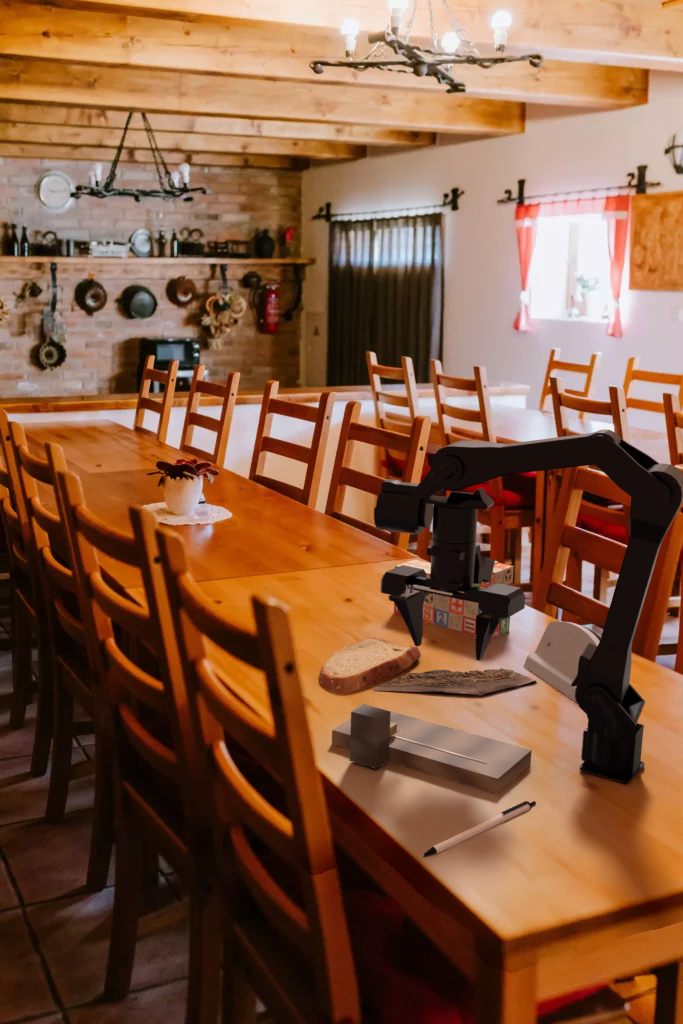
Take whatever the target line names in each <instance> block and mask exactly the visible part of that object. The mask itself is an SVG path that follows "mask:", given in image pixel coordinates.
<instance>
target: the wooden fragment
mask: <svg viewBox="0 0 683 1024" xmlns="http://www.w3.org/2000/svg"><path fill="white" fill-rule="evenodd" d="M532 682H533V683H536V684H538V682H537V680H536V679H534V678H531V677H529V676H527V675H525V674H521V673H518V672H517V671H515V670H512V669H507V668H506V669H505V668H503V667H501V668H500V669H499V668H498V669H492V668H491V669H490V668H489V669H484V670H482V671H480V670H477V669H475V670H469V671H465V672H463V671H459V670H457V671H455V670H454V671H452V670H450V669H434V670H429V671H423V672H408V673H407V674H404V675H400V676H398V677H397V678H394V679H392V680H390V681H389V682H386V683H382V684H379V685H377V686H375V687H373V689H371V690H372V691H382V692H413V693H414V692H415V693H417V692H419V693H423V692H424V693H425V692H426V693H427V692H436V693H451V694H463V695H464V694H465V695H466V694H468V695H476V696H478V697H479V696H484V695H486V694H488V693H493V692H496V691H501V690H505V689H510V688H513V687H518V686H522V685H526V684H529V683H532Z"/></svg>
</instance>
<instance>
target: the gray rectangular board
mask: <svg viewBox="0 0 683 1024" xmlns="http://www.w3.org/2000/svg"><path fill="white" fill-rule="evenodd" d="M375 707H376V706H375ZM376 708H378V707H376ZM379 708H380V707H379ZM380 709H382V708H380ZM386 710H387V711H389V710H388V709H386ZM390 722H394V723H397V732H396V733H395V734H393V735H392V736H390V741H389V761H388V762H391V763H393V764H397V765H400V766H404V767H407V768H411V769H414V770H416V771H420V772H422V773H427V774H428V775H429V774H430V775H433V776H437V777H439V778H440V777H441V778H443V779H446V780H449V781H453V782H456V783H458V784H463V785H466V786H469V787H472V788H475V789H479V790H482V791H486V792H489V793H493V794H495V795H498V794H499V793H500V792H501V791H502V790H503V789H504V788H506V787H507V786H508V785H509V784H510V783H511V782H512V781H513V780H515V779H516V778H517V777H518V776H519V775H520V774H522V773H523V772H524V771H525V770H526V769H528V767H530V765H531V763H532V749H529V748H526V747H522V746H518V745H515V744H511V743H507V742H504V741H500V740H497V739H494V738H489V737H486V736H482V735H479V734H475V733H471V732H467V731H464V730H461V729H458V728H457V729H456V728H452V727H450V726H449V727H448V726H445V725H442V724H439V723H434V722H431V721H427V720H424V719H420V718H416V717H414V716H409V715H406V714H401V713H399V712H398V713H397V712H396V711H395V712H394V711H391V714H390ZM350 734H351V718H349V719H348V720H345V722H342V723H341V724H339V725H338V726H336V727H335V728H333V729H332V730H331V745H334V746H338V747H341V748H345V749H347V750H350Z"/></svg>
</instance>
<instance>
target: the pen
mask: <svg viewBox="0 0 683 1024" xmlns="http://www.w3.org/2000/svg"><path fill="white" fill-rule="evenodd" d="M536 803H537V801H535V800H533V801H531V802H530V801H528V800H525V801H522V802H520V803H519V804H516V805H515V806H512V807H510V808H508V809H505V810H504V811H501V812H500V814H499V815H497V816H494V817H492V818H490V819H488V820H486V821H484V822H482V823H479V824H477V825H475V826H473V827H471V828H469V829H467V830H465V831H463V832H460V833H459V834H457V835H455V836H451V837H450V838H448V839H446V840H444V841H442V842H440V843H437V844H435V845H433V846H431V847H430V848H429V849H427V850H426V852H424V853H423V854H422V855H421V856H422V857H424V858H425V857H429V856H433V855H436V854H438V853H440V852H442V851H445V850H446V849H447V850H448V849H449V848H451V847H453V846H455V845H457V844H460V843H462V842H464V841H465V840H468V839H470V838H472V837H475V836H476V835H477V834H480V833H482V832H484V831H486V830H488V829H491V828H492V827H495V826H496V825H499V824H501V823H503V822H506V821H507V820H509V819H512V818H514V817H515V816H518V815H520V814H522V813H524V812H525V811H528V810H531V808H532V806H534V805H536Z"/></svg>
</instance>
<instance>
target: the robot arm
mask: <svg viewBox="0 0 683 1024" xmlns="http://www.w3.org/2000/svg"><path fill="white" fill-rule="evenodd" d="M586 466H595V467H596V468H598V469H599V470H601V472H603V474H604V475H606V476H607V477H608V478H609V479H610V480H611V481H612V482H613V483H614V484H615V485H616V486H617V487H618V488H619V489H620V490H622V492H624V493H626V494H627V495H628V496H629V497H631V499H630V506H629V508H630V509H629V525H628V526H629V532H628V533H629V535H628V542H627V546H626V549H625V553H624V556H623V559H622V562H621V566H620V570H619V572H618V573H619V574H618V578H617V581H616V584H615V587H614V592H613V595H612V597H611V602H610V603H609V604H610V606H609V608H608V611H607V616H606V619H605V622H604V626H603V630H602V633H601V639H600V642H599V644H598V646H595V645H593V644H591V643H588V644H587V646H586V647H585V649H584V651H583V652H582V654H581V655H580V657H579V664H578V673H577V675H576V677H575V679H574V680H573V682H572V684H571V686H572V687H573V686H577V687H576V690H575V700H576V702H575V703H577V705H578V707H579V708H580V710H581V711H583V713H584V714H586V717H587V727H586V728H585V729H584V730H583V732H582V743H581V761H582V763H581V764H580V765H579V771H581V772H585V773H587V774H593V775H595V776H598V777H602V778H607V779H610V780H613V781H616V782H621V783H624V784H630V783H631V782H632V781H633V780H634V778H636V776H637V775H638V774H639V773H640V772H641V770H643V768H644V767H645V764H646V763H645V762H644V761H643V760H642V749H643V748H642V747H643V739H644V728H645V725H644V724H641V723H638V722H639V719H640V717H641V715H642V712H643V710H644V707H645V704H646V701H645V699H644V698H643V697H642V695H640V694H639V693H638V691H637V690H636V688H634V687H633V685H632V684H631V683H630V681H631V671H632V670H631V669H632V652H633V651H632V649H633V648H632V645H633V641H634V637H635V633H636V630H637V627H638V624H639V620H640V616H641V614H642V610H643V606H644V603H645V600H646V596H647V593H648V589H649V586H650V583H651V579H652V576H653V572H654V569H655V566H656V563H657V559H658V555H659V553H660V549H661V546H662V543H663V540H664V539H665V537H666V535H667V532H668V531H669V529H670V528H671V525H672V523H673V521H674V520H675V517H676V516H677V514H678V512H679V510H680V509H681V506H682V504H683V472H682V470H680V469H679V468H678V467H677V466H674V465H672V464H671V463H670V464H669V463H660V462H658V461H657V460H656V459H654V458H653V457H651V456H650V455H649V454H647V453H646V452H644V451H642V450H640V449H639V448H637V447H635V446H634V445H633V444H631V443H628V442H627V441H626V440H624V439H623V438H622V437H620V436H619V435H618V433H616V432H615V431H614V430H612V429H599V430H597V431H595V432H589V433H581V434H580V433H579V434H573V435H572V434H571V435H565V436H559V437H558V436H557V437H551V438H549V437H548V438H542V439H541V438H540V439H534V440H526V441H520V442H519V441H518V442H511V443H500V442H493V441H485V440H484V441H482V440H467V439H466V440H458V441H455V442H453V443H450V444H448V445H446V446H443V447H441V448H439V449H438V450H436V451H435V453H434V455H432V458H431V460H430V466H429V467H430V469H429V471H428V472H427V474H426V475H425V476H424V478H423V479H422V480H421V481H419V483H413V482H404V481H400V480H396V479H391V478H387V479H385V480H384V481H382V482H381V490H380V491H379V493H378V496H377V500H376V504H375V506H374V509H373V521H374V525H375V528H376V529H377V530H378V531H384V532H391V533H392V532H393V533H394V532H395V533H401V534H402V533H403V534H408V535H421V534H422V533H423V532H424V530H425V529H428V528H430V527H431V525H432V527H431V528H432V530H431V531H432V532H431V533H432V534H431V535H432V536H431V545H430V546H426V556H429V557H430V563H431V572H430V576H429V577H427V574H426V572H425V571H424V569H420V568H415V567H409V566H404V565H402V566H399V567H397V568H395V567H394V568H392V569H389V570H387V571H386V572H385V573H383V575H382V576H381V578H380V593H381V594H385V595H388V601H391V602H393V604H394V603H395V605H396V607H397V608H398V610H399V612H400V614H401V615H400V614H399V615H400V616H401V618H402V619H403V622H404V623H405V624H404V625H406V628H407V630H408V632H409V636H410V637H411V640H412V642H413V645H415V646H417V647H419V646H421V645H422V640H423V633H424V632H423V629H424V626H423V625H424V621H423V603H424V600H425V597H426V594H427V593H432V594H437V595H442V596H447V597H451V598H456V599H461V600H466V601H471V602H476V603H478V608H479V609H480V610H481V613H480V614H478V615H476V635H475V650H474V651H475V659H476V661H477V662H478V661H479V662H480V661H482V660H483V659H484V657H485V654H486V652H487V649H488V647H489V645H490V643H491V640H492V639H491V638H492V636H493V634H494V631H495V630H496V628H497V626H498V624H499V623H500V621H501V620H503V619H505V618H508V617H510V618H511V616H513V615H515V614H517V613H519V612H521V611H523V610H524V609H525V607H526V606H525V605H526V604H525V603H526V595H525V593H524V591H523V589H522V588H521V587H518V586H515V585H514V586H509V585H504V584H499V583H496V584H495V585H493V586H491V587H489V588H487V589H482V588H476V587H474V584H480V583H482V581H483V582H487V583H491V578H492V573H493V568H494V563H495V561H496V560H495V559H492V558H489V557H486V556H483V555H481V551H482V550H481V549H482V548H481V545H480V544H477V530H478V529H477V527H478V526H477V525H478V510H483V511H487V509H490V507H492V506H494V505H495V500H494V499H492V497H490V495H488V494H487V493H486V491H485V489H484V488H483V487H479V488H477V489H476V490H475V491H474V492H467V491H466V492H464V491H460V490H463V489H467V488H470V487H473V486H476V485H480V484H482V483H486V482H489V481H492V480H494V479H497V478H500V477H504V476H509V475H511V476H512V475H518V474H525V473H533V472H534V473H535V472H543V471H544V472H545V471H552V470H560V469H562V470H563V469H569V468H578V467H586ZM444 490H445V491H447V492H450V493H449V495H448V496H441V495H436V494H437V493H439V492H441V491H444ZM459 591H460V592H459ZM462 592H464V593H462Z"/></svg>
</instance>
